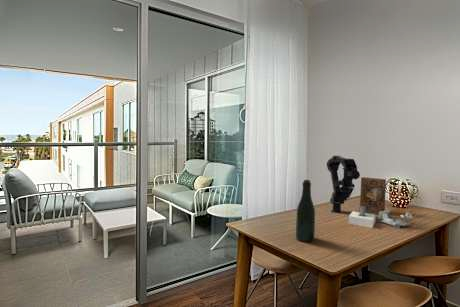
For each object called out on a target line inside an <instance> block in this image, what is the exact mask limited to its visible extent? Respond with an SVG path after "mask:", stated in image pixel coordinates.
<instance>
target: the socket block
mask: <svg viewBox="0 0 460 307" xmlns="http://www.w3.org/2000/svg"><path fill="white" fill-rule="evenodd" d="M375 223H376V213H369V212H365V217H363V216H360V211H354V210H353V211H352V212H350V214H349V216H348V224H349V225H354V226H360V227H366V228H370V229H371V228H372V229H373V228H374V225H375Z"/></svg>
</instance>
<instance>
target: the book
mask: <svg viewBox="0 0 460 307" xmlns="http://www.w3.org/2000/svg"><path fill="white" fill-rule="evenodd" d="M360 178H361V179H360V196H359V207H360V206H365V207H366V209H365V213H371V212H372V213H371V214H378V213H379V212H382V211H386V209H385V208H386V206H385V205H386V190H387V189H386V188H387V187H386V186H387V179H384V178H374V177H360Z"/></svg>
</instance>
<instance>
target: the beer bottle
mask: <svg viewBox="0 0 460 307" xmlns="http://www.w3.org/2000/svg"><path fill="white" fill-rule="evenodd" d="M311 186H312V182H311V180H310V179H303V182H302V190H301V193H302V194H301V197H300V200H299V202H298V205H297V207H296V216H295V231H294V232H295V235H294V237H295V239H296V240H298V241H300V242H303V243H311V242H313V241H315V238H316V210H315V209H316V208H315V205H314V202H313V200H312V194H311Z"/></svg>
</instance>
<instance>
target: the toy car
mask: <svg viewBox="0 0 460 307" xmlns="http://www.w3.org/2000/svg"><path fill="white" fill-rule="evenodd" d="M400 217H401V220H399V219H398V218H397V216H395V217H393V216H392V214H391V212H390V210H384V211H382V212H379V214H378V217H377V218H375V222H377V223H384V224H388V225H391V226H394V228H397V229H400V228H401V227H405V226H410V225H411V222H410V221H409V220H407V218H408V219H411V218H413V216H412V213H410V212H409V211H406V212H405V215H404V214H400ZM404 218H405V221H404Z"/></svg>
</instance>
